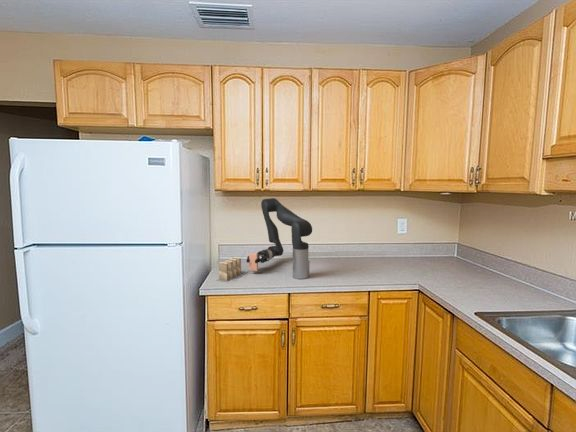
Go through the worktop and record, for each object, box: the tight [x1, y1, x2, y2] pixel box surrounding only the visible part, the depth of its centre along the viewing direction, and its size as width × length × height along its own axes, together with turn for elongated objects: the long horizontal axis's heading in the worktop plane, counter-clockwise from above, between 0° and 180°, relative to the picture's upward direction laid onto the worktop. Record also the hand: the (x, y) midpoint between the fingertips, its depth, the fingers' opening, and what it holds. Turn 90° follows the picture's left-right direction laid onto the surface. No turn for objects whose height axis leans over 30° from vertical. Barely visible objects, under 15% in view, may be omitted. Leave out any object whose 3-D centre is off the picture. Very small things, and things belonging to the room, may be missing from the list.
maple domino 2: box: [223, 260, 233, 279], centre depth 191 cm, size 2×5×10 cm, turn 67°
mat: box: [215, 270, 249, 283], centre depth 196 cm, size 23×8×1 cm, turn 157°
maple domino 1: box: [218, 261, 228, 281], centre depth 187 cm, size 2×5×10 cm, turn 67°
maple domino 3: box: [227, 258, 237, 277], centre depth 195 cm, size 2×5×10 cm, turn 67°
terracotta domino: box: [248, 252, 259, 272], centre depth 199 cm, size 2×5×10 cm, turn 67°
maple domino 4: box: [231, 256, 242, 275], centre depth 199 cm, size 2×5×10 cm, turn 67°
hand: (251, 261), depth 197 cm, fingers closed on terracotta domino, 5 cm apart
